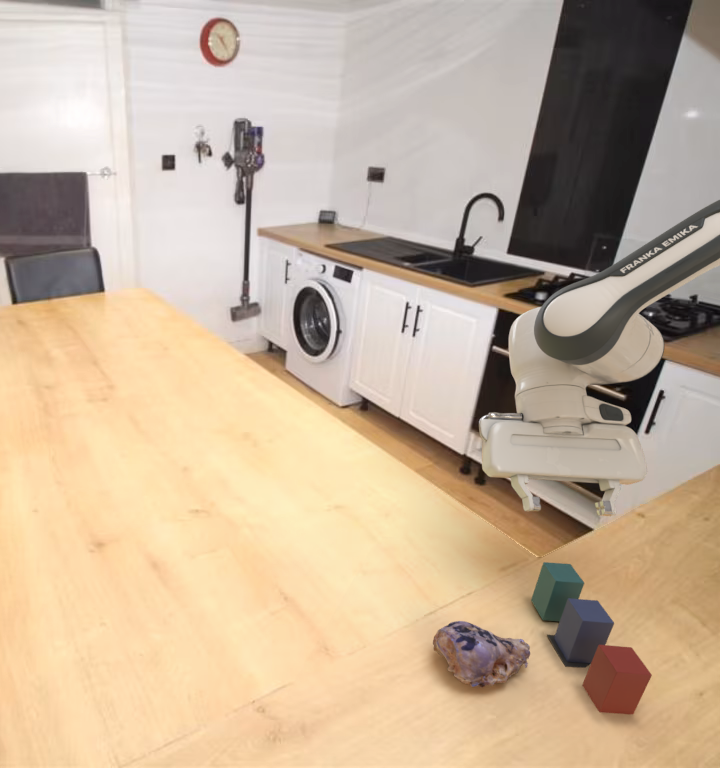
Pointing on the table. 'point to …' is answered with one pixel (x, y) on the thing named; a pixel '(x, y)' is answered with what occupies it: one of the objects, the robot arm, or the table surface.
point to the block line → (610, 663)
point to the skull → (479, 653)
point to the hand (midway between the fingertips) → (569, 513)
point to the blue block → (582, 630)
